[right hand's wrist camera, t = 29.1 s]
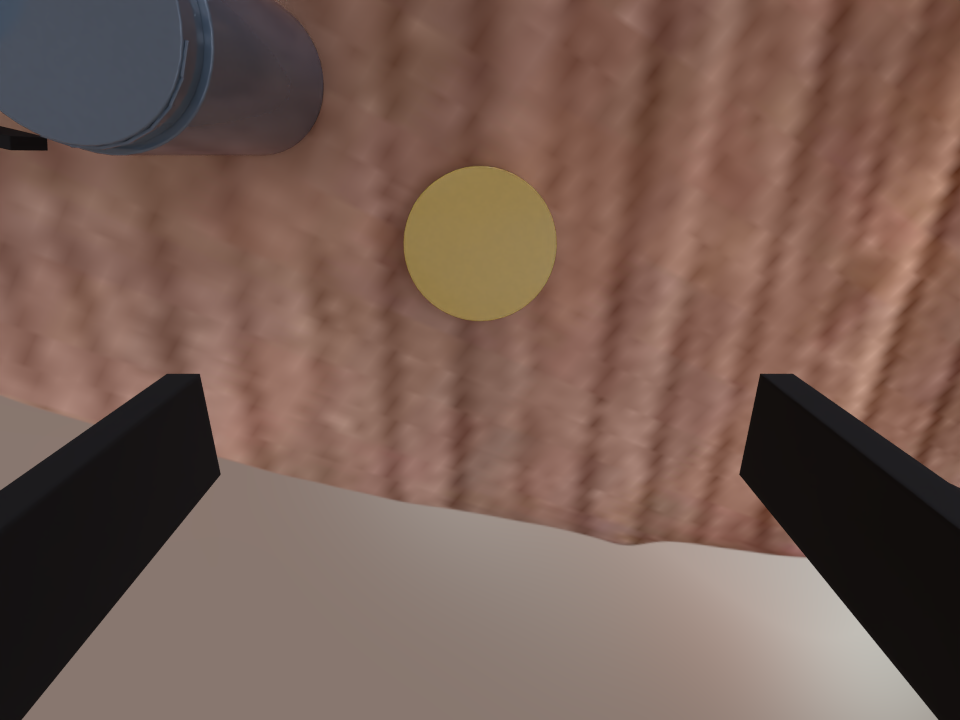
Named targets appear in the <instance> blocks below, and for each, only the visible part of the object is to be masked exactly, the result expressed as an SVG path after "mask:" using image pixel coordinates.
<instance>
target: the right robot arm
mask: <svg viewBox="0 0 960 720" xmlns="http://www.w3.org/2000/svg"><path fill="white" fill-rule="evenodd" d="M739 475H740V476H741V477H742V478H743V480H744V481H745V482H746V483H747V484H748V486H749V487H750V488H751V489H752V491H753V492H754V493H755V494H756V496H757V497H758V498H759V499H760V500H761V502H762V503H763V504H764V505H765V507H766V508H767V509H768V510H769V512H770V513H771V514H772V515H773V516H774V518H775V519H776V520H777V521H778V523H779V524H780V525H781V526H782V528H783V529H784V530H785V531H786V533H787V534H788V535H789V536H790V537H791V539H792V540H793V541H794V542H795V544H796V545H797V546H798V547H799V549H800V550H801V551H802V552H803V553H804V555H805V556H806V557H807V558H808V560H809V561H810V562H811V563H812V565H813V566H814V567H815V568H816V569H817V571H818V572H819V573H820V574H821V576H822V577H823V578H824V579H825V581H826V582H827V583H828V584H829V585H830V587H831V588H832V589H833V590H834V592H835V593H836V594H837V595H838V597H839V598H840V599H841V600H842V601H843V603H844V604H845V605H846V606H847V608H848V609H849V610H850V611H851V612H852V614H853V615H854V616H855V617H856V619H857V620H858V621H859V622H860V624H861V625H862V626H863V627H864V629H865V630H866V631H867V632H868V634H869V635H870V636H871V637H872V638H873V640H874V641H875V642H876V643H877V645H878V646H879V647H880V648H881V649H882V651H883V652H884V653H885V654H886V656H887V657H888V658H889V659H890V661H891V662H892V663H893V664H894V666H895V667H896V668H897V669H898V670H899V672H900V673H901V674H902V675H903V677H904V678H905V679H906V680H907V682H908V683H909V684H910V685H911V686H912V688H913V689H914V690H915V691H916V693H917V694H918V695H919V696H920V698H921V699H922V700H923V701H924V702H925V704H926V705H927V706H928V707H929V709H930V710H931V711H932V712H933V714H934V715H935V716H936V717H937V718H938V720H960V488H959V487H956V486H954V485H952V484H950V483H948V482H947V481H945V480H944V479H943V478H941V477H940V476H938V475H937V474H935V473H934V472H933V471H931V470H930V469H928V468H927V467H925V466H924V465H922V464H921V463H920V462H918V461H917V460H915V459H914V458H912V457H911V456H910V455H908V454H907V453H905V452H904V451H902V450H901V449H900V448H898V447H897V446H895V445H894V444H892V443H891V442H890V441H888V440H887V439H885V438H884V437H882V436H881V435H880V434H878V433H877V432H875V431H874V430H872V429H871V428H870V427H868V426H867V425H865V424H864V423H862V422H861V421H860V420H858V419H857V418H855V417H854V416H852V415H851V414H850V413H848V412H847V411H845V410H844V409H842V408H841V407H840V406H838V405H837V404H835V403H834V402H832V401H831V400H830V399H828V398H827V397H825V396H824V395H822V394H821V393H820V392H818V391H817V390H815V389H814V388H812V387H811V386H810V385H808V384H807V383H805V382H804V381H802V380H801V379H800V378H798V377H797V376H795V375H794V374H760V378H759V382H758V387H757V392H756V397H755V402H754V407H753V411H752V416H751V421H750V426H749V431H748V435H747V440H746V445H745V450H744V455H743V459H742V464H741V469H740V474H739ZM219 476H220V469H219V464H218V460H217V455H216V450H215V445H214V440H213V435H212V431H211V426H210V421H209V416H208V411H207V407H206V402H205V397H204V392H203V387H202V382H201V378H200V374H166V375H165V376H163V377H162V378H160V379H159V380H158V381H156V382H155V383H153V384H152V385H150V386H149V387H148V388H146V389H145V390H143V391H142V392H140V393H139V394H138V395H136V396H135V397H133V398H132V399H130V400H129V401H128V402H126V403H125V404H123V405H122V406H120V407H119V408H118V409H116V410H115V411H113V412H112V413H110V414H109V415H108V416H106V417H105V418H103V419H102V420H100V421H99V422H98V423H96V424H95V425H93V426H92V427H90V428H89V429H88V430H86V431H85V432H83V433H82V434H80V435H79V436H78V437H76V438H75V439H73V440H72V441H70V442H69V443H68V444H66V445H65V446H63V447H62V448H60V449H59V450H58V451H56V452H55V453H53V454H52V455H50V456H49V457H48V458H46V459H45V460H43V461H42V462H40V463H39V464H38V465H36V466H35V467H33V468H32V469H30V470H29V471H27V472H26V473H25V474H23V475H22V476H20V477H19V478H17V479H16V480H15V481H13V482H12V483H10V484H9V485H8V486H6V487H5V488H3V489H2V490H0V720H22V718H23V717H24V716H25V715H26V714H27V712H28V711H29V710H30V709H31V707H32V706H33V705H34V704H35V702H36V701H37V700H38V699H39V697H40V696H41V695H42V694H43V693H44V691H45V690H46V689H47V688H48V686H49V685H50V684H51V683H52V682H53V680H54V679H55V678H56V677H57V675H58V674H59V673H60V672H61V670H62V669H63V668H64V667H65V666H66V664H67V663H68V662H69V661H70V659H71V658H72V657H73V656H74V654H75V653H76V652H77V651H78V650H79V648H80V647H81V646H82V645H83V643H84V642H85V641H86V640H87V638H88V637H89V636H90V635H91V633H92V632H93V631H94V630H95V629H96V627H97V626H98V625H99V624H100V622H101V621H102V620H103V619H104V617H105V616H106V615H107V614H108V613H109V611H110V610H111V609H112V608H113V606H114V605H115V604H116V603H117V601H118V600H119V599H120V598H121V597H122V595H123V594H124V593H125V592H126V590H127V589H128V588H129V587H130V585H131V584H132V583H133V582H134V581H135V579H136V578H137V577H138V576H139V574H140V573H141V572H142V571H143V569H144V568H145V567H146V566H147V564H148V563H149V562H150V561H151V560H152V558H153V557H154V556H155V555H156V553H157V552H158V551H159V550H160V549H161V547H162V546H163V545H164V544H165V542H166V541H167V540H168V539H169V537H170V536H171V535H172V534H173V533H174V531H175V530H176V529H177V528H178V526H179V525H180V524H181V523H182V521H183V520H184V519H185V518H186V516H187V515H188V514H189V513H190V512H191V510H192V509H193V508H194V507H195V505H196V504H197V503H198V502H199V500H200V499H201V498H202V497H203V496H204V494H205V493H206V492H207V491H208V489H209V488H210V487H211V486H212V484H213V483H214V482H215V481H216V480H217V478H218V477H219Z"/></svg>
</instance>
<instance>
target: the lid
mask: <svg viewBox="0 0 960 720" xmlns="http://www.w3.org/2000/svg"><path fill="white" fill-rule="evenodd" d="M556 247H557V241H556V231H555V226H554V222H553V219H552V216H551V213H550V211H549V209H548V207H547V205H546V204H545V202H544V201H543V199H542V198H541V196H540V195H539V194H538V193H537V192H536V190H535V189H534V188H533V187H532V186H530V185H529V184H528V183H527V182H526V181H524V180H523V179H521V178H519V177H518V176H516V175H514V174H512V173H510V172H508V171H506V170H502V169H499V168H496V167H489V166H471V167H465V168H461V169H457V170H455V171H452V172H450V173H448V174H446V175H444V176H442V177H441V178H439V179H437V180H436V181H435V182H433V183H432V184H431V185H430V186H428V188H427V189H426V190H425V191H424V192H423V193H422V194H421V195H420V197H419V198H418V199H417V201H416V202H415V204H414V206H413V208H412V210H411V211H410V214H409V217H408V219H407V223H406V227H405V231H404V255H405V261H406V265H407V268H408V271H409V273H410V276H411V278H412V280H413V282H414V283H415V285H416V287H417V288H418V290H419V291H420V292H421V293H422V295H423V296H424V297H425V298H426V299H427V300H428V301H429V302H430V303H432V304H433V305H434V306H436V307H437V308H438V309H440V310H442V311H443V312H445V313H447V314H449V315H452V316H454V317H457V318H461V319H465V320H472V321H488V320H495V319H499V318H503V317H506V316H508V315H511V314H513V313H515V312H517V311H519V310H520V309H522V308H523V307H525V306H526V305H527V304H529V303H530V302H531V301H532V300H533V299H534V298H535V297H536V296H537V295H538V294H539V292H540V291H541V290H542V288H543V287H544V285H545V284H546V282H547V280H548V278H549V276H550V274H551V271H552V268H553V265H554V262H555V257H556Z"/></svg>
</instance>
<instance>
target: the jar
mask: <svg viewBox="0 0 960 720" xmlns="http://www.w3.org/2000/svg"><path fill="white" fill-rule="evenodd" d="M322 98H323V74H322V68H321V63H320V60H319V57H318V54H317V51H316V49H315V46H314V44H313V42H312V40H311V38H310V37H309V35H308V33H307V32H306V30H305V29H304V28H303V26H302V25H301V24H300V22H299V21H298V20H297V19H296V18H295V17H294V16H293V15H292V14H291V13H290V12H289V11H287V10H286V9H285V8H284V7H282V6H281V5H280V4H278V3H277V2H276V1H274V0H0V111H1V112H2V113H4V114H5V115H7V116H8V117H9V118H11V119H12V120H14V121H15V122H17V123H18V124H20V125H22V126H23V127H25V128H27V129H29V130H31V131H33V132H35V133H37V134H39V135H40V136H41V137H44V138H47V139H50V140H53V141H56V142H59V143H62V144H65V145H68V146H71V147H74V148H80V149H83V150H87V151H91V152H94V153H99V154H106V155H271V154H276V153H279V152H283V151H285V150H287V149H289V148H291V147H293V146H294V145H296V144H297V143H298V142H300V141H301V140H302V139H303V138H304V137H305V136H306V135H307V133H308V132H309V131H310V130H311V128H312V126H313V125H314V123H315V121H316V119H317V116H318V114H319V111H320V108H321V104H322Z"/></svg>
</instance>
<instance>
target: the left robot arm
mask: <svg viewBox="0 0 960 720" xmlns="http://www.w3.org/2000/svg"><path fill="white" fill-rule="evenodd" d="M0 148H4V149H8V150H48V149H47V138H44V137H41V136H39V135H35V134H31V133H27V132H22V131H18V130H14V129H10V128H6V127H2V126H0Z"/></svg>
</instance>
